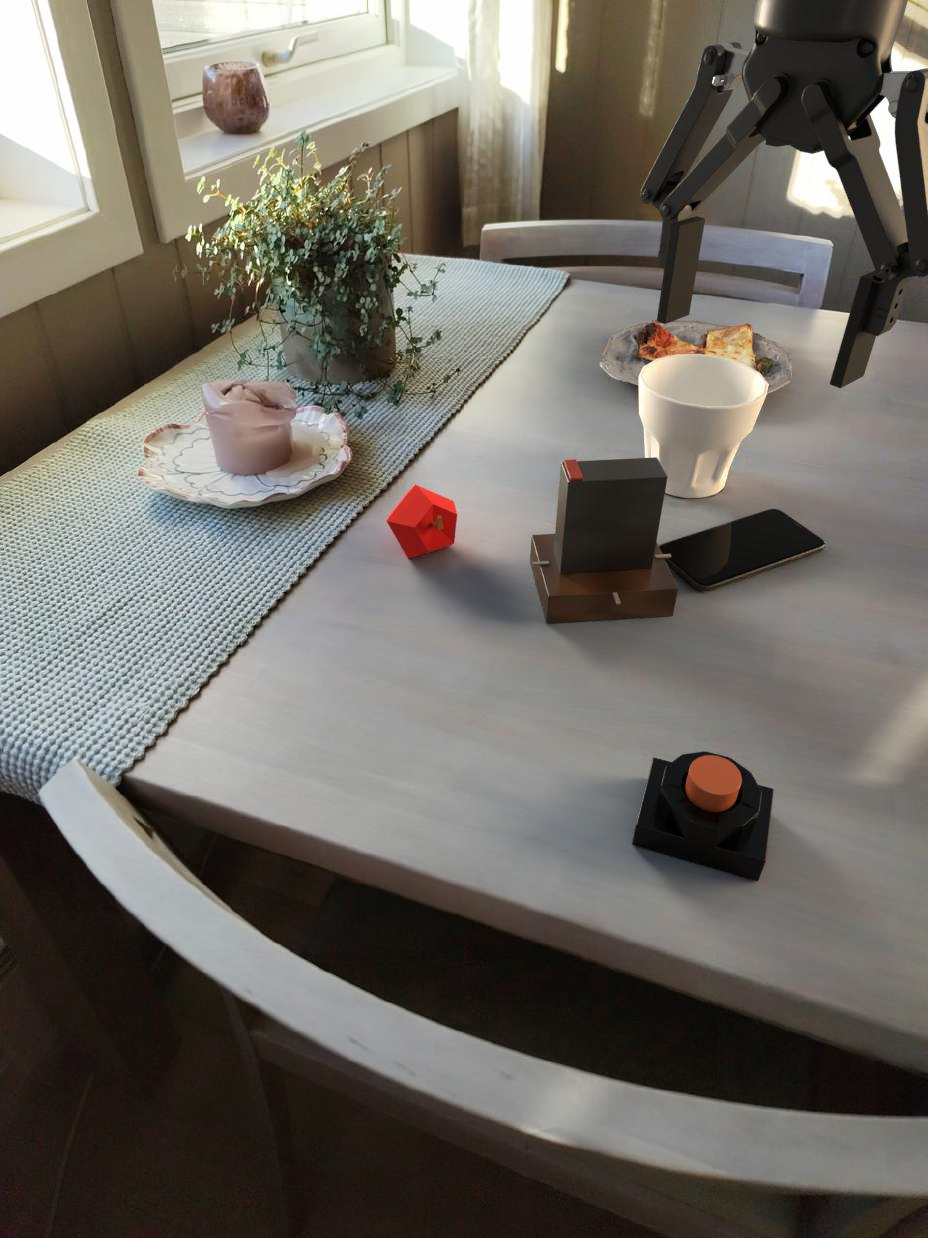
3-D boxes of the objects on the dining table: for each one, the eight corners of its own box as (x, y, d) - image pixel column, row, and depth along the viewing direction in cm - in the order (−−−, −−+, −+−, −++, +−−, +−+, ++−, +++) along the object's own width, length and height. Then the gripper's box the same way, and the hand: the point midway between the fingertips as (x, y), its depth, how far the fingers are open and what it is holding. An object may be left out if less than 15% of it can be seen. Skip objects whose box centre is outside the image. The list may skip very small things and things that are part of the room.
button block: (766, 808, 59) (780, 770, 56) (758, 882, 54) (772, 844, 52) (648, 777, 61) (657, 738, 58) (631, 846, 56) (639, 807, 54)
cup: (607, 456, 95) (619, 360, 88) (711, 442, 97) (730, 347, 90) (654, 517, 86) (671, 414, 79) (767, 500, 88) (794, 399, 81)
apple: (371, 480, 81) (404, 491, 74) (437, 477, 84) (474, 487, 77) (372, 553, 83) (404, 570, 76) (436, 547, 86) (473, 563, 79)
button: (738, 780, 56) (744, 762, 55) (733, 818, 53) (738, 801, 52) (688, 767, 57) (693, 749, 56) (681, 804, 54) (685, 786, 53)
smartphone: (701, 596, 76) (829, 550, 81) (702, 588, 76) (831, 543, 81) (650, 552, 81) (774, 512, 86) (652, 545, 81) (776, 505, 86)
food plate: (617, 326, 124) (619, 302, 121) (786, 344, 119) (792, 318, 116) (588, 402, 105) (591, 375, 103) (787, 427, 100) (795, 398, 98)
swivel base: (647, 544, 82) (652, 516, 80) (685, 627, 73) (691, 598, 71) (520, 551, 81) (522, 523, 79) (542, 636, 72) (544, 607, 70)
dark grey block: (642, 546, 77) (657, 454, 71) (651, 568, 74) (668, 474, 68) (553, 551, 76) (561, 458, 70) (560, 573, 74) (568, 479, 68)
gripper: (609, -63, 49) (578, 308, 63) (1073, -46, 35) (902, 431, 48) (692, -66, 53) (645, 285, 67) (1142, -51, 39) (965, 393, 52)
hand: (753, 347), depth 58 cm, fingers open, 13 cm apart
